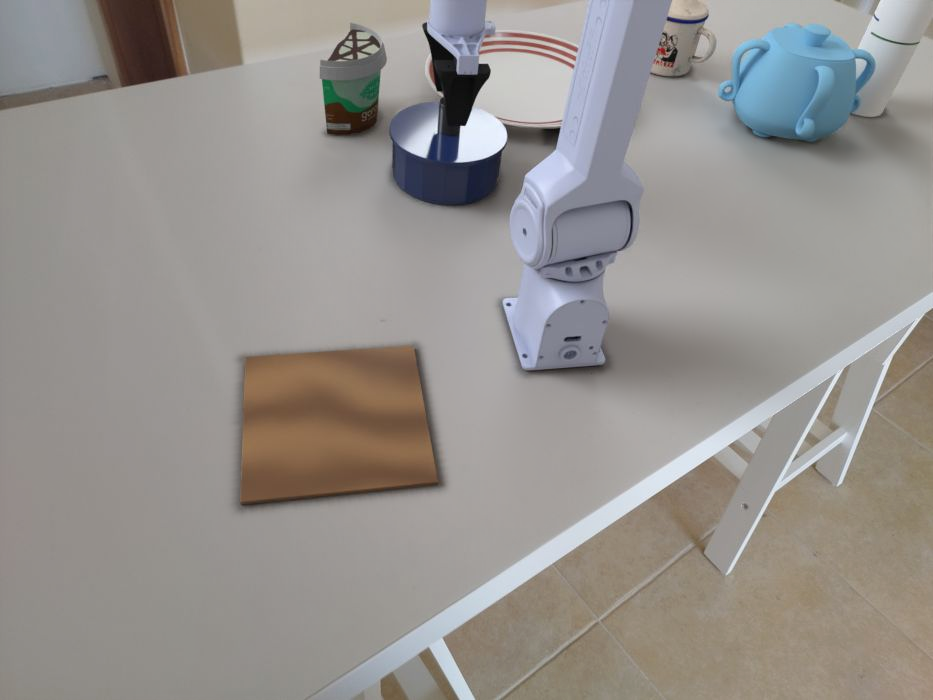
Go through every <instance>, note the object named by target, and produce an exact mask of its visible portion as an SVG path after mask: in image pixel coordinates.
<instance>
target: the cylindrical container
mask: <svg viewBox="0 0 933 700" xmlns="http://www.w3.org/2000/svg"><path fill="white" fill-rule="evenodd" d="M932 20H933V0H880V1H879V2H878V4H877V7H876V9H875V11H874V14H873V15H872V17H871V19H870V22H869V24H868V25H867V28H866V30H865V32H864V34H863V36H862V38H861V41H860V43H859V45H858V46H857V49H862V50H865V51H867V52H869V53H870V54H871V55H872V56H873V58H874V60H875V64H876V66H875V71H874V73H873V75H872V76H871V78H870V79H869V81H868V82H867V83H866V84H865V85H864V86H863V87H862V88H861V90H860V91H859V92H858V93H857V95H859V96H860V98H861V104H860V107H859V108H858V109H857V110H856V111H855V112H852V113H851V114H852V115H856V116H860V117H864V118H865V117H867V118H875V117H879V116H881V115H882V114H883V112H884V110H885V109H886V107H887V105H888V103H889V101H890V99H891V98H892V95H893V93H894V91H895V90H896V88H897V86H898V84H899V82H900V81H901V79H902V76H903V74H904V73H905V71H906V69H907V67H908V65H909V64H910V61H911V59H912V58H913V56H914V54H915V53H916V50H917V48H918V46H919V44H920V43H921V41H922V38H923V37H924V35H925V33H926V31H927V29H928V28H929V25H930V23H931V22H932ZM855 60H856V79H857V78H858V77H859V76H860V75H861V73H862V72H863V70H864V69H865V67H866V64H867V62H866V61H865V60H863V59H855ZM853 102H854V101H853Z"/></svg>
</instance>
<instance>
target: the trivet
mask: <svg viewBox="0 0 933 700" xmlns="http://www.w3.org/2000/svg"><path fill="white" fill-rule="evenodd" d="M244 359H245V360H244V382H243V383H244V385H243V386H244V388H243V409H242V410H243V415H242V436H241V437H242V439H241V441H242V442H241V463H240V464H241V466H240V467H241V468H240V493H239V494H240V495H239V498H240V499H239V504H240V505H251V504H261V503H262V504H263V503H271V502H281V501H291V500H299V499H300V500H301V499H309V498H319V497H320V498H321V497H329V496H341V495H350V494H358V493H369V492H377V491H378V492H379V491H388V490H396V489H407V488H416V487H417V488H418V487H426V486H435V485H439V479H438V474H437V473H438V472H437V468H436V467H437V466H436V462H435V457H434V450H433V446H432V441H431V440H432V439H431V434H430V430H429V429H430V428H429V423H428V417H427V411H426V406H425V401H424V395H423V388H422V384H421V383H422V382H421V378H420V373H419V367H418V366H419V365H418V361H417V355H416V350H415V346H414V345H401V346H400V345H399V346H387V347H386V346H385V347H372V348H371V347H370V348H356V349H344V350H342V349H341V350H327V351H313V352H312V351H311V352H298V353H284V354H270V355H269V354H268V355H255V356H253V355H252V356H245V358H244Z"/></svg>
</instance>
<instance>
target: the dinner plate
mask: <svg viewBox="0 0 933 700" xmlns="http://www.w3.org/2000/svg"><path fill="white" fill-rule="evenodd" d="M578 47H579V43H578V44H577V43H575V42H573V41H570V40H567V39H564V38H561V37H558V36H554V35H550V34H545V33H541V32H536V31H535V32H534V31H527V30H517V29H495V34H494V35H486V36H485V37H484V40H483V43H482V45H481V48H480V50H479V64H489V67H490V69H491V73H490V77H489V79H488V80H487V81H486V82H485V84H484V85H483V86H482V88H481V89H480V91H479V93H478V95H477V97H476V99H475V102H474V105H473V106H474V107H477V108H480V109H482V110H484V111H486V112H488V113H490V114H492V115H493V116H495V117H496V118H497V119H498V120H500V121H501V122H502V124H503V125H504V126H509V127H514V128H515V127H516V128H523V129H535V130H537V129H541V130H543V129H545V130H546V129H547V130H548V129H550V130H551V129H561V125H562V120H563V115H564V111H565V106H566V102H567V97H568V93H569V88H570V84H571V79H572V75H573V70H574V65H575V61H576V56H577V52H578ZM424 74H425V78H426V80H427V82H428V84H429V86H430V87H431V89H432V90H433V91H434V92H435V93H436V95H438V96H439V97H440V99H441V98H443V92H437V90H436V86H435V81H434V73H433V65H432V57H431V52H430V53H429V54H428V57H427V58H426V61H425V65H424Z"/></svg>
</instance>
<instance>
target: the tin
mask: <svg viewBox="0 0 933 700" xmlns="http://www.w3.org/2000/svg"><path fill="white" fill-rule="evenodd" d="M391 152H392V153H391V155H392V157H391V158H392V159H391V164H392V165H391V168H392V174H393V180H394V181H395V183H396V185H397V186H398V187H399V188H400V189H401V190H402V191H403V192H405V193H406V194H408V195H409V196H411V197H413V198H415V199H417V200H419V201H422V202H425V203H430V204H435V205H442V206H459V205H461V206H462V205H466V204H471V203H475V202H478V201H480V200H483V199H485V198H486V197H488V196H489V195H490V194H492V192H493V191H494V190H495V189H496V186H497V185H498V181H499V180H498V179H499V176H500V170H501V164H502V156H503V155H502V154H503V151H502V152H501V153H500V154H499V155H498V156H496V157H495V158H493V159H491V160H489V161H486V162H483V163H480V164H476V165H470V166H441V165H435V164H431V163H426V162H423V161H420V160H417V159H415V158H413V157H411V156H409V155H407V154H405V153H404V152H402V151H401V150H400V149H399V148H397V147H396V145H395V144H394V143H393V142H392V151H391Z"/></svg>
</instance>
